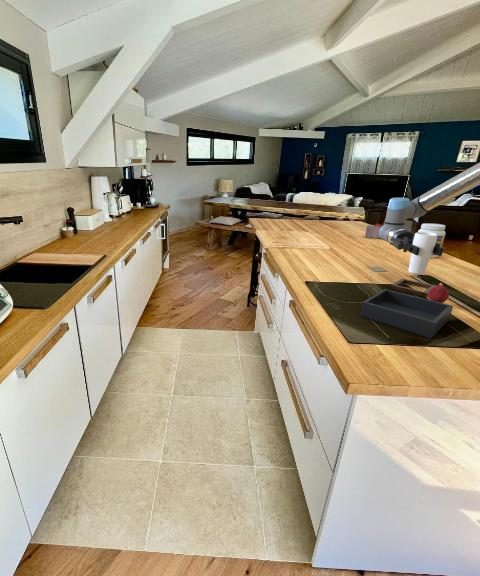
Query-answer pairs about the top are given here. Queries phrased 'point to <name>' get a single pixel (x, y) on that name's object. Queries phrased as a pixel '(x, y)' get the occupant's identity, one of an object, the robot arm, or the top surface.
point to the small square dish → (409, 290)
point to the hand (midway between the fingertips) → (429, 251)
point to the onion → (438, 293)
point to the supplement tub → (434, 229)
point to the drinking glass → (422, 252)
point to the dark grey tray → (407, 312)
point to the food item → (373, 231)
